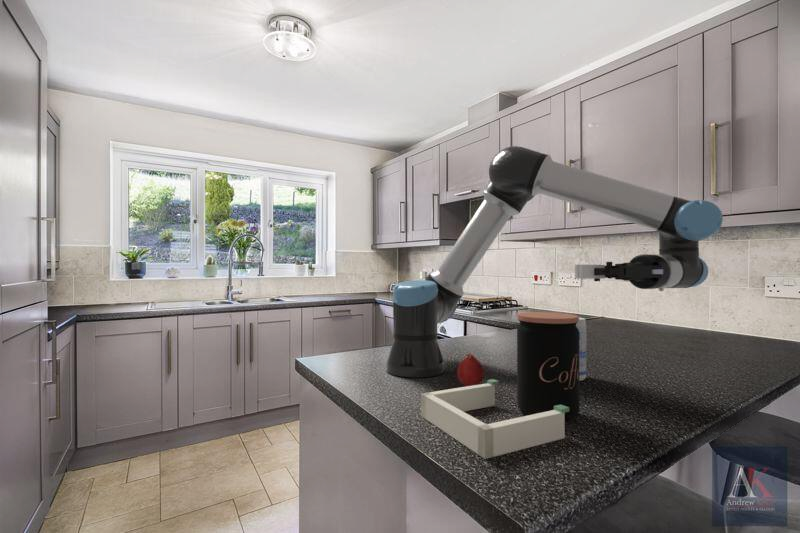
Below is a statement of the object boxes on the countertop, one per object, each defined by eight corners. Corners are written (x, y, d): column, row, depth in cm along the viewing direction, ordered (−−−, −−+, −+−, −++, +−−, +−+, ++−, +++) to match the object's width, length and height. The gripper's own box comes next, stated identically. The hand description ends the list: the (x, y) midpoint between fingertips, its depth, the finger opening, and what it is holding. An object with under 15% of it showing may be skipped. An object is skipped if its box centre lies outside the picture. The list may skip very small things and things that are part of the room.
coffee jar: (540, 427, 65) (539, 319, 65) (506, 406, 75) (506, 312, 75) (593, 421, 68) (592, 317, 68) (553, 401, 78) (553, 311, 78)
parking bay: (421, 415, 70) (421, 390, 70) (493, 402, 77) (493, 379, 77) (485, 459, 54) (485, 425, 54) (569, 437, 61) (569, 407, 61)
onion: (463, 384, 90) (463, 349, 90) (487, 388, 87) (487, 352, 87) (453, 391, 85) (453, 354, 85) (478, 395, 82) (478, 357, 82)
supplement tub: (569, 385, 89) (569, 320, 90) (536, 375, 98) (535, 316, 98) (595, 379, 94) (594, 318, 95) (560, 370, 103) (560, 314, 103)
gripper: (686, 289, 80) (610, 292, 70) (624, 287, 92) (551, 289, 81) (685, 253, 80) (609, 250, 70) (624, 255, 92) (551, 253, 82)
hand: (578, 271), depth 76 cm, fingers closed
